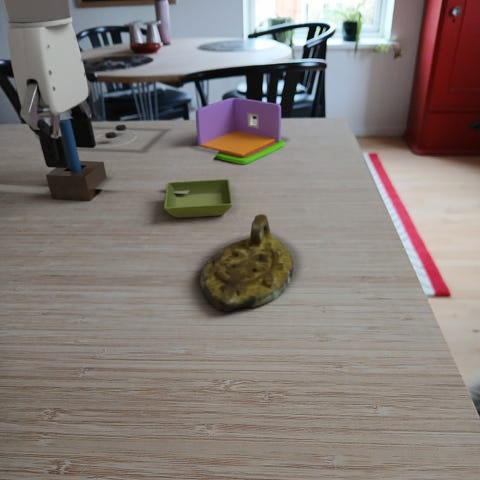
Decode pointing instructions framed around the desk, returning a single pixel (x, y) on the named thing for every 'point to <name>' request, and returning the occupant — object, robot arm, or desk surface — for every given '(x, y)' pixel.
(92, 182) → the stand
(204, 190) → the green rectangular tray
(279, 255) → the seal
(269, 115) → the miniature room corner
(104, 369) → the desk surface
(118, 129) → the dot
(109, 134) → the dot
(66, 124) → the blue rod
